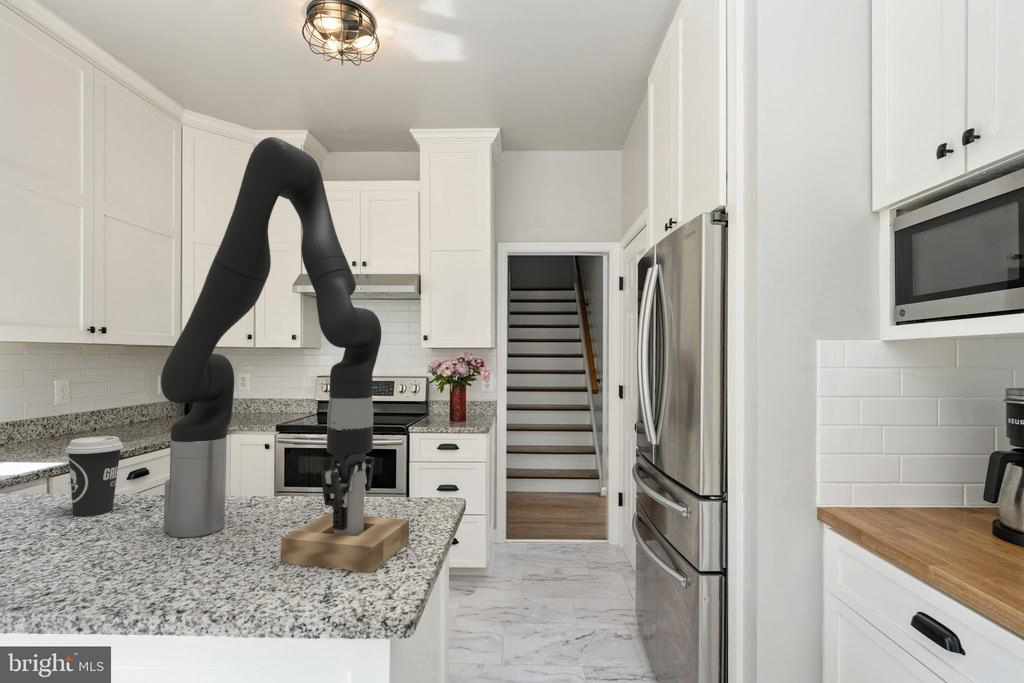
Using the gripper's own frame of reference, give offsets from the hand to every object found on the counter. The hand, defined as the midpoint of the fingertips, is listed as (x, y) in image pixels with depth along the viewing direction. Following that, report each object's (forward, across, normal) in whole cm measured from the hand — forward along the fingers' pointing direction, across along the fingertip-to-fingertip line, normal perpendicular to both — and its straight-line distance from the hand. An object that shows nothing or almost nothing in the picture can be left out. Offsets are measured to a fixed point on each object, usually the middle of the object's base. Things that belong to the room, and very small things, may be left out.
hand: (348, 523), depth 92 cm
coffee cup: (+5, -7, -62) cm, 63 cm away
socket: (+5, 0, 0) cm, 5 cm away
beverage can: (+3, 0, 0) cm, 3 cm away
